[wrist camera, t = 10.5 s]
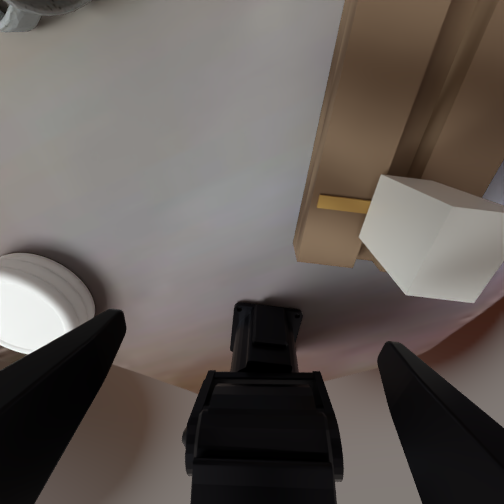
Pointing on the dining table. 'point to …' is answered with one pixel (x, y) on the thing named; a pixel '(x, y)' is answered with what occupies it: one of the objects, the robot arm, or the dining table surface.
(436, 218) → the fader tab
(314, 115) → the dining table surface
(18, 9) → the ceramic mug
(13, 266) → the white bowl
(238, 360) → the robot arm
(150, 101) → the dining table surface
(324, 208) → the fader track
